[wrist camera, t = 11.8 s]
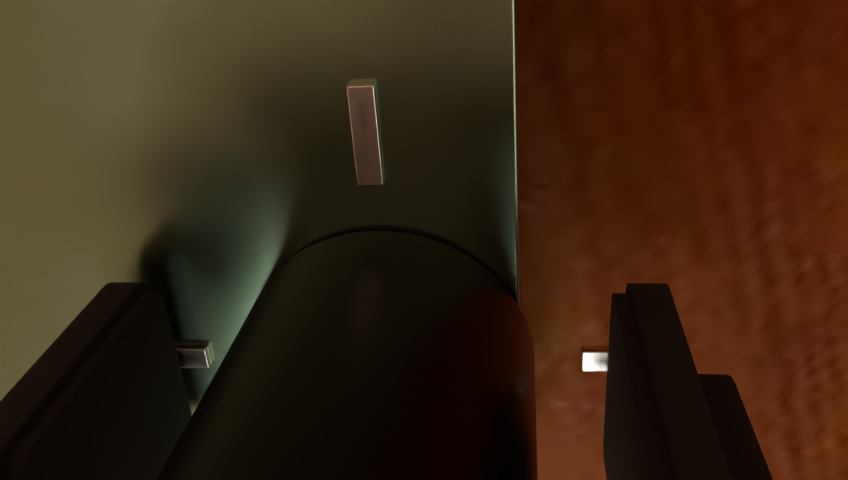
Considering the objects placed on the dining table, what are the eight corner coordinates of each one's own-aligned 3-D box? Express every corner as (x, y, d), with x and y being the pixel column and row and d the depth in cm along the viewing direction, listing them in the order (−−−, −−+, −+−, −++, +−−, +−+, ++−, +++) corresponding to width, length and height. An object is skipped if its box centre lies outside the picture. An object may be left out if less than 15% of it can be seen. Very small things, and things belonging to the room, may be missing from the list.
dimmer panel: (638, 458, 16) (659, 568, 14) (64, 446, 17) (-6, 542, 15) (692, -264, 10) (742, -291, 8) (-162, -189, 12) (-331, -193, 9)
